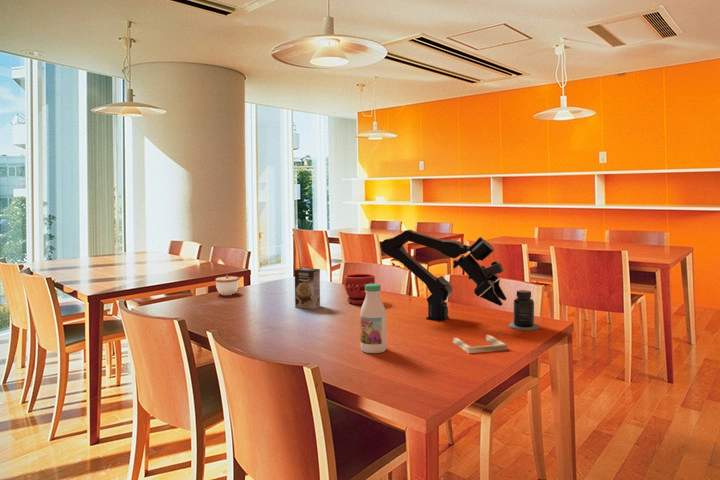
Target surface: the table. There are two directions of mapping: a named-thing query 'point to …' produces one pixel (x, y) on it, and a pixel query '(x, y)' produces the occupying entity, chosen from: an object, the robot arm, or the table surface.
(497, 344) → the pocket
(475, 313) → the table surface
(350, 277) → the plant pot
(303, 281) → the coffee box
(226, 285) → the lidded jar
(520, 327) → the coaster
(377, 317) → the milk bottle
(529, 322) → the supplement bottle
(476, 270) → the robot arm
